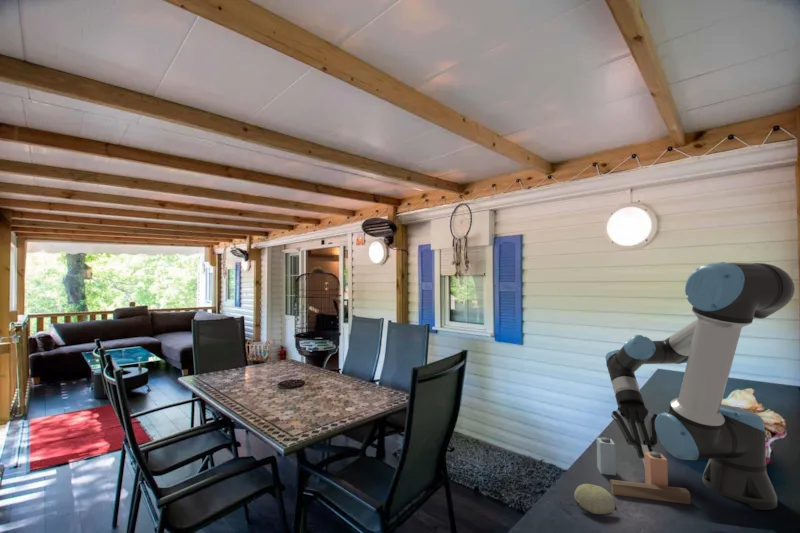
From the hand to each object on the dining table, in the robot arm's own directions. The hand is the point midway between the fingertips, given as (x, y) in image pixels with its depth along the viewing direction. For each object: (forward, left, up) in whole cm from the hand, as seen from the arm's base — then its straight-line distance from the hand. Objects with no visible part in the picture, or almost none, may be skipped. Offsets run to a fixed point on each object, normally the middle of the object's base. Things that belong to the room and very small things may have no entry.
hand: (650, 470), depth 105 cm
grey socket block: (+10, +5, -3) cm, 12 cm away
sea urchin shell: (+1, +22, -5) cm, 23 cm away
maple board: (+1, +3, -5) cm, 6 cm away
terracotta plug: (-3, +2, -3) cm, 5 cm away
